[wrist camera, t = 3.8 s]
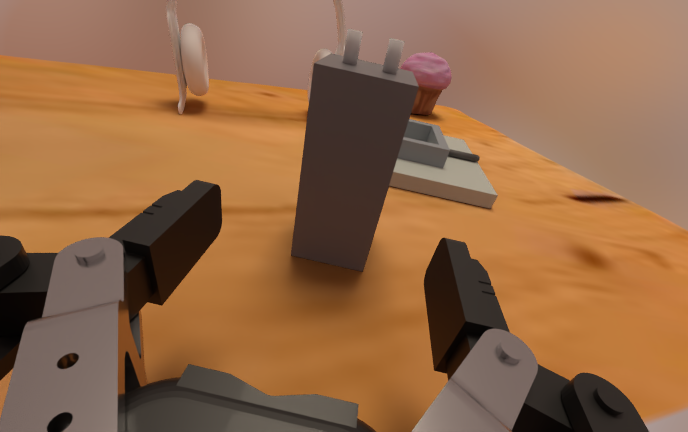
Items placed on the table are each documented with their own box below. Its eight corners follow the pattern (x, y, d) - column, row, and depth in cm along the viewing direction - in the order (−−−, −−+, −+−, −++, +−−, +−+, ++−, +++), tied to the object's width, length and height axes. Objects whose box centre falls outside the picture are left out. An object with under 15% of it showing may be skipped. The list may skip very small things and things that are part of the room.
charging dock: (308, 167, 30) (313, 132, 28) (333, 121, 43) (338, 96, 41) (490, 208, 30) (507, 176, 28) (459, 150, 43) (469, 125, 41)
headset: (327, 112, 47) (350, -37, 37) (340, 129, 41) (370, -40, 31) (180, 97, 40) (160, -89, 30) (171, 114, 35) (144, -105, 25)
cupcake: (402, 117, 52) (421, 52, 47) (383, 102, 59) (397, 43, 54) (446, 121, 55) (468, 61, 50) (423, 107, 62) (440, 52, 57)
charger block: (290, 255, 19) (318, 24, 12) (307, 216, 23) (335, 23, 16) (362, 271, 19) (430, 50, 12) (367, 229, 23) (420, 43, 16)
